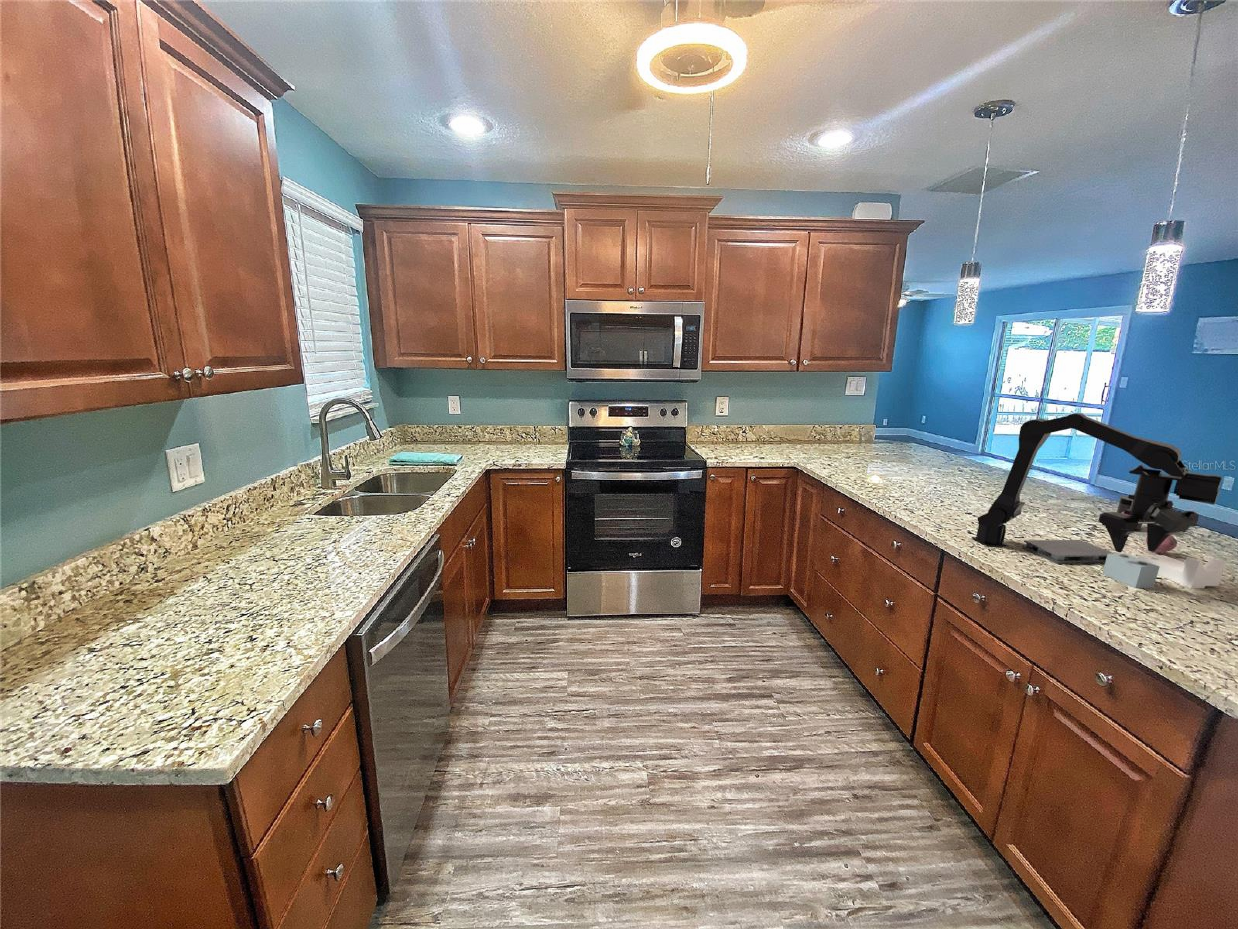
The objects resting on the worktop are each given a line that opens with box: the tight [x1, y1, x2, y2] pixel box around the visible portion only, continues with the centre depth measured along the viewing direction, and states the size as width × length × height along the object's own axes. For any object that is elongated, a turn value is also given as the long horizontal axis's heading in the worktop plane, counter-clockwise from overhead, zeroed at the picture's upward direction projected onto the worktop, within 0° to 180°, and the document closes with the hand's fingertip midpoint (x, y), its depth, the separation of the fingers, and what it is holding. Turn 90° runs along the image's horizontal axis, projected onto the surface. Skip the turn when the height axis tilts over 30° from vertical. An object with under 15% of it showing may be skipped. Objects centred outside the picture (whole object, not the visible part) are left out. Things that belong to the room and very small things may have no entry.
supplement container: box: [1116, 495, 1143, 532], centre depth 163 cm, size 7×7×10 cm
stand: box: [1021, 539, 1116, 565], centre depth 141 cm, size 18×11×2 cm, turn 94°
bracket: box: [1138, 554, 1227, 589], centre depth 127 cm, size 13×7×8 cm, turn 1°
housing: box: [1101, 552, 1160, 589], centre depth 125 cm, size 5×8×6 cm, turn 4°
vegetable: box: [1145, 534, 1178, 554], centre depth 142 cm, size 6×6×10 cm
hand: (1134, 551), depth 124 cm, fingers open, 9 cm apart
